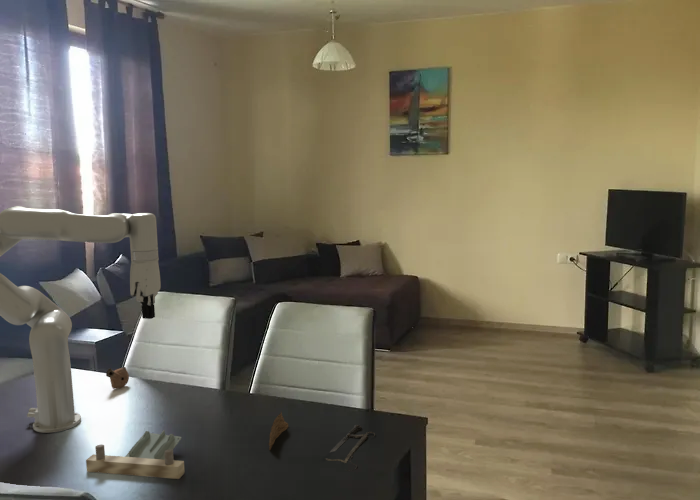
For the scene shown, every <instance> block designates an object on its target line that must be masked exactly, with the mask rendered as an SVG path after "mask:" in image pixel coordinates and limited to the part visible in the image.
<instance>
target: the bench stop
mask: <svg viewBox="0 0 700 500" xmlns="http://www.w3.org/2000/svg"><path fill="white" fill-rule="evenodd" d="M164 454H165V460H162V459H149V458H135V457H125V456H123V455H122V456H121V455H106V452H105V445H104V444H97V445H95V454H94V453H93V454H92V455H90V456H89V457H88V458H86V459H85V465H86V472H87V473H89V472H90V473H99V474H100V473H102V474H113V475H125V476H139V477H149V478H150V477H151V478H160V479H161V478H163V479H174V480H176V479H177V480H179V479H181V477H182V476H183V475H184V474H185V473H186V472H185V461H184V460H175V459H174V449H173V450H171V449H169V450H166V451H164Z"/></svg>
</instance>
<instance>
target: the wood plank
mask: <svg viewBox="0 0 700 500" xmlns="http://www.w3.org/2000/svg"><path fill="white" fill-rule="evenodd" d="M287 429H289V423H288V422H287V421H285V418H284V416H283V413H282V410H281V411H280V413H279V414H278V415H277V416H276V417H275V419H274V420H273V423H272V425H271V427H270V433H269V443H267V445H268V446H269V447H268V448H269V451H271V450H272V447H273V445H274V444H275V441H276V439H277V438H278V437H280V436H281V434H282V433H283V432H285V431H286V430H287Z"/></svg>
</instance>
